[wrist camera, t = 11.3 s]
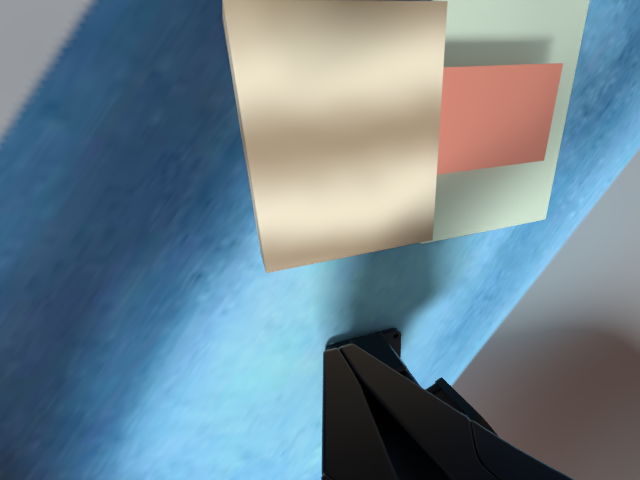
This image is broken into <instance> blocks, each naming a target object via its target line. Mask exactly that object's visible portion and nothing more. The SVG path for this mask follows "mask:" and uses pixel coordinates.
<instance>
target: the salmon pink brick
mask: <svg viewBox="0 0 640 480" xmlns="http://www.w3.org/2000/svg"><path fill="white" fill-rule="evenodd" d="M562 67H563V63H552V64H524V65H496V66H468V67H443V83H442V99H441V115H440V131H439V147H438V163H437V174H445V173H453V172H460V171H468V170H476V169H483V168H491V167H499V166H507V165H514V164H522V163H530V162H537V161H544V159H545V154H546V149H547V143H548V138H549V133H550V128H551V123H552V118H553V113H554V108H555V103H556V97H557V92H558V87H559V82H560V77H561V72H562Z"/></svg>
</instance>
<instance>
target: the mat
mask: <svg viewBox="0 0 640 480" xmlns="http://www.w3.org/2000/svg"><path fill="white" fill-rule="evenodd" d="M430 1H448V3H447V19H446V35H445V51H444V67H468V66H496V65H524V64H552V63H563V67H562V72H561V77H560V82H559V87H558V92H557V97H556V103H555V108H554V113H553V118H552V123H551V128H550V133H549V138H548V143H547V149H546V154H545V159H544V161H537V162H530V163H522V164H514V165H507V166H499V167H491V168H483V169H476V170H468V171H460V172H453V173H445V174H437V179H436V195H435V211H434V227H433V240H430V241H425V242H420V243H421V244H424V243H429V242H434V241H439V240H444V239H449V238H454V237H459V236H464V235H469V234H474V233H479V232H485V231H490V230H495V229H500V228H505V227H510V226H515V225H520V224H525V223H530V222H535V221H540V220H545V219H546V214H547V209H548V204H549V199H550V194H551V189H552V184H553V179H554V174H555V169H556V164H557V160H558V155H559V150H560V145H561V140H562V135H563V130H564V125H565V120H566V115H567V110H568V105H569V100H570V95H571V91H572V86H573V81H574V76H575V71H576V66H577V61H578V56H579V51H580V46H581V41H582V36H583V31H584V26H585V21H586V17H587V12H588V7H589V2H590V0H430Z"/></svg>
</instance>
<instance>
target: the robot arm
mask: <svg viewBox="0 0 640 480" xmlns="http://www.w3.org/2000/svg"><path fill="white" fill-rule="evenodd" d="M394 334H395V335H394ZM400 353H401V333H400V332H399V330H398V329H397V328H392V329H389V330H385V331H381V332H377V333H373V334H370V335H366V336H362V337H358V338H355V339H351V340H347V341H343V342H339V343H336V344H332V345H329V346H328V347H327V348H326V350H325V351H324V352H323V410H322V478H321V480H574V479H572V478H570V477H569V476H567V475H565V474H563V473H561V472H559V471H557V470H556V469H554V468H552V467H550V466H548V465H546V464H545V463H543V462H541V461H539V460H537V459H536V458H534V457H532V456H530V455H529V454H527V453H525V452H523V451H521V450H520V449H518V448H516V447H514V446H513V445H511V444H510V443H508V442H506V441H505V440H503V439H501V438H500V437H498V435H497V434H496V433H495V432H494V430H493V429H492V428H491V427H490V426H489V424H488V423H487V422H486V421H485V420H484V419H483V418H482V416H481V415H479V413H478V412H477V411H476V410H474V408H473V407H472V406H471V405H469V404H468V403H467V402H466V401H465V400H464V399H463V398H462V397H461V396H460V395H459V394H458V393H457V392H456V391H455V390H454V389H453V388H452V387H451V386H450V385H449V384H448V383H447V382H446V381H445V380H444V379H443V378H442V377H441V378H440V379H438V380H437V381H435V384H433V385H432V386H430V387H429V388H427V389H426V390H425V389H423V388H421V386H420V385H419V384H418V382H417V381H416V380H415V378H414V377H413V376H412V374H411V373H410V372H409V370H408V369H407V367H406V365H405V364H404V363H403V361H402V360H401V359H400Z"/></svg>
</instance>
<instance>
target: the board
mask: <svg viewBox="0 0 640 480" xmlns="http://www.w3.org/2000/svg"><path fill="white" fill-rule="evenodd" d="M447 3H448V1H369V0H223V25H224V31H225V38H226V44H227V50H228V56H229V62H230V68H231V74H232V81H233V87H234V93H235V99H236V105H237V111H238V117H239V124H240V130H241V136H242V142H243V148H244V154H245V160H246V167H247V173H248V179H249V185H250V191H251V197H252V203H253V210H254V216H255V222H256V228H257V234H258V240H259V246H260V253H261V256H262V260H263V263H264V267H265V271H266V273H269V272H274V271H279V270H284V269H289V268H294V267H299V266H304V265H309V264H314V263H319V262H324V261H329V260H335V259H340V258H345V257H350V256H355V255H360V254H365V253H370V252H375V251H380V250H385V249H390V248H395V247H400V246H405V245H410V244H415V243H420V242H425V241H430V240H433V227H434V211H435V195H436V179H437V163H438V147H439V131H440V115H441V99H442V83H443V67H444V51H445V35H446V19H447Z"/></svg>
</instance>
